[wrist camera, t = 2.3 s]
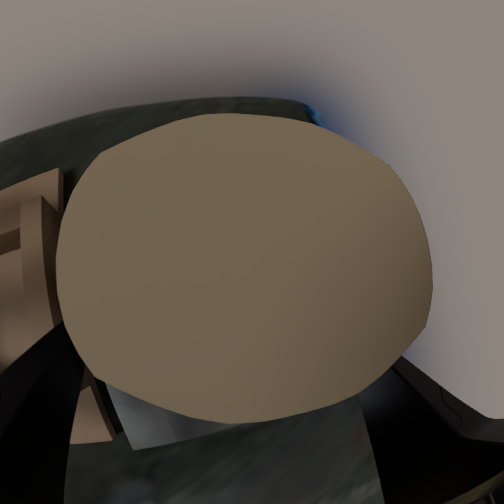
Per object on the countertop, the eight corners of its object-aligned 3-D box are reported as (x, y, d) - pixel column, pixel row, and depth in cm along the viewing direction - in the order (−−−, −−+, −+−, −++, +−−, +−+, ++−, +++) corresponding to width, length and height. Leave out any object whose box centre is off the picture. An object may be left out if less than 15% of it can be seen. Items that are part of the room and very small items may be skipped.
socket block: (326, 369, 19) (351, 375, 15) (141, 430, 15) (133, 450, 11) (269, 195, 21) (284, 173, 18) (89, 236, 17) (72, 219, 14)
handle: (156, 276, 18) (81, 121, 4) (249, 271, 19) (394, 139, 5) (161, 348, 17) (71, 427, 2) (256, 340, 18) (443, 358, 4)
